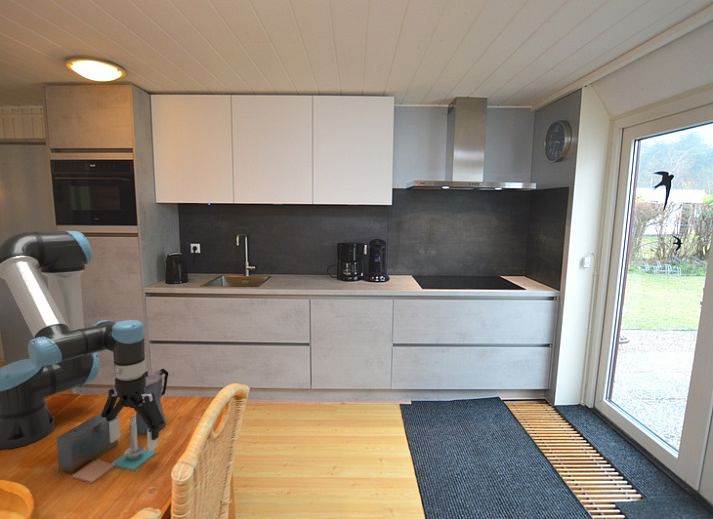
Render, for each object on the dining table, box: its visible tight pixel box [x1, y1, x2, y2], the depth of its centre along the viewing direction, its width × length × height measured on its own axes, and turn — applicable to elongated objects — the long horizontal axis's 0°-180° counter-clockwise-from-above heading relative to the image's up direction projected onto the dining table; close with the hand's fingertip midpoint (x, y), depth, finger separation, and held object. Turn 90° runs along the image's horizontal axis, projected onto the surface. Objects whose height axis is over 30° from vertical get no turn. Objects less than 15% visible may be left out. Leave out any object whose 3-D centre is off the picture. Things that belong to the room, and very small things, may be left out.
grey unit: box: [56, 412, 119, 476], centre depth 108 cm, size 5×14×10 cm, turn 165°
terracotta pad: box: [71, 459, 116, 484], centre depth 102 cm, size 7×7×1 cm
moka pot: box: [135, 368, 169, 435], centre depth 123 cm, size 10×15×20 cm, turn 166°
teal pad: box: [111, 448, 157, 472], centre depth 108 cm, size 8×8×1 cm
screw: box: [123, 415, 145, 460], centre depth 107 cm, size 13×5×5 cm
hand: (133, 444), depth 107 cm, fingers open, 13 cm apart
